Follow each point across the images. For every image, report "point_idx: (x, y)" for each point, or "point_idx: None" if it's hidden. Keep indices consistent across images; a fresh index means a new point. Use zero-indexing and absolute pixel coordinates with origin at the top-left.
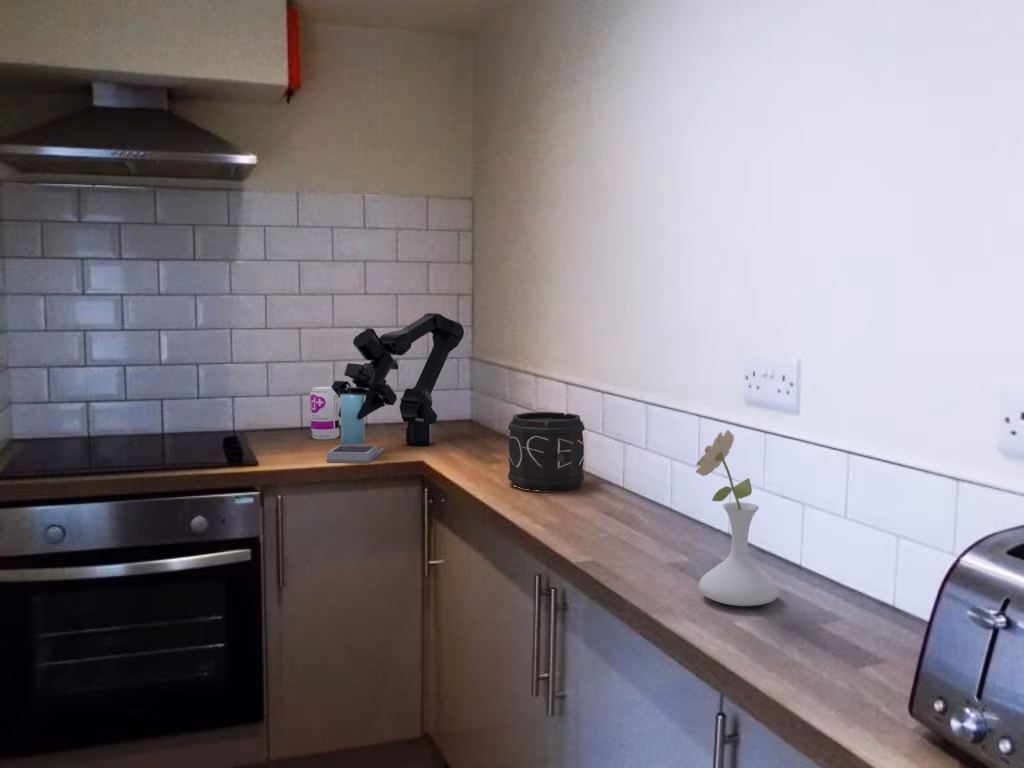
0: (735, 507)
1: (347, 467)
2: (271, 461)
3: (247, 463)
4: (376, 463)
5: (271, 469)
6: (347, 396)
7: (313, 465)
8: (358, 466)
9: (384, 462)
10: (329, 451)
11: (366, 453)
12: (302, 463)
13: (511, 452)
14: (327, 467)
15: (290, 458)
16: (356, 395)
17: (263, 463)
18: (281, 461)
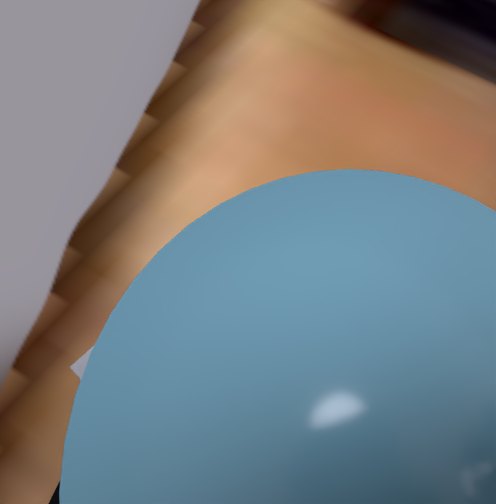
0: None
1: (72, 234)
2: (392, 84)
3: (403, 14)
4: (51, 397)
5: (248, 13)
6: (205, 219)
7: (216, 153)
8: (53, 284)
9: (42, 448)
10: None
11: (77, 361)
12: (284, 144)
13: None
14: (136, 172)
15: (411, 163)
16: (123, 448)
17: (372, 48)
18: (371, 109)
